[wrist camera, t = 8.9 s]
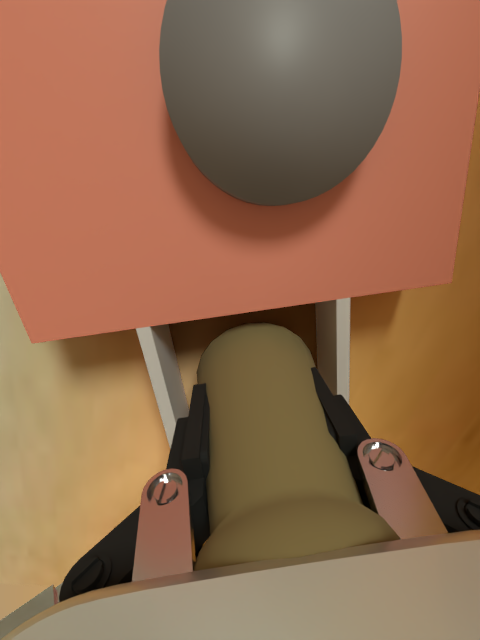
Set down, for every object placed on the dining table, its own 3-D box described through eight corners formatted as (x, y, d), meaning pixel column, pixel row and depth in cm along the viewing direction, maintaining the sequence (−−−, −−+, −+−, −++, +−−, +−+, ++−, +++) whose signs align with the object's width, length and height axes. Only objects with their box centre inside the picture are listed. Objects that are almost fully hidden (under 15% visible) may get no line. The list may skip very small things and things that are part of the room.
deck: (438, -85, 10) (576, -277, 6) (396, 403, 18) (445, 456, 14) (-59, -21, 10) (-246, -178, 6) (116, 445, 18) (85, 511, 14)
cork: (201, 315, 13) (122, 719, 3) (327, 328, 13) (667, 696, 3) (192, 420, 15) (126, 877, 5) (300, 428, 16) (455, 843, 5)
